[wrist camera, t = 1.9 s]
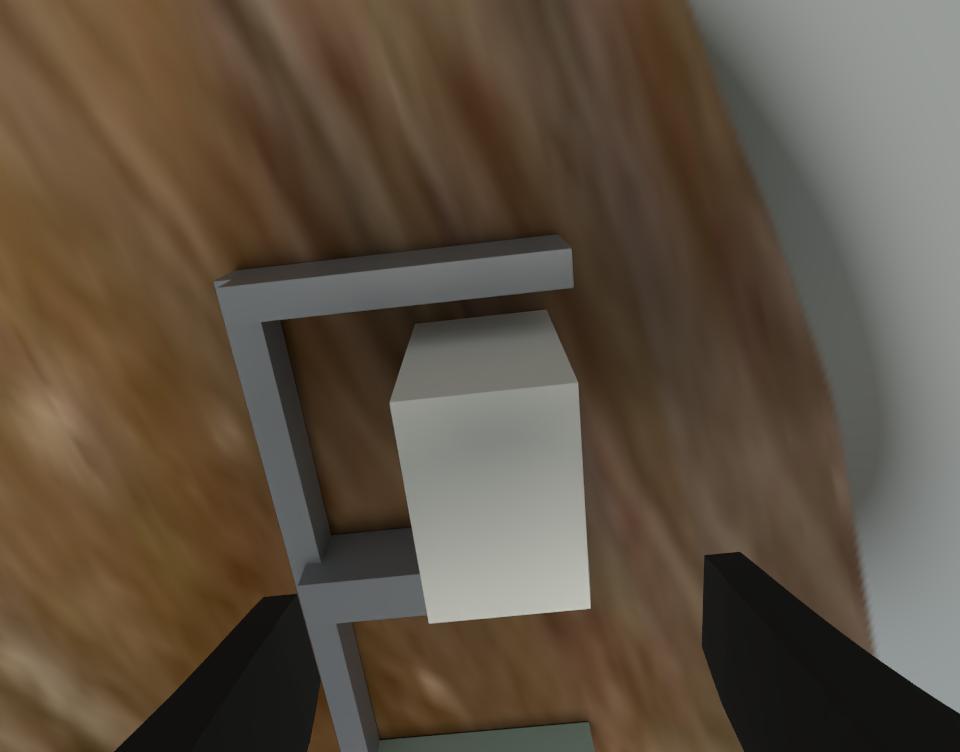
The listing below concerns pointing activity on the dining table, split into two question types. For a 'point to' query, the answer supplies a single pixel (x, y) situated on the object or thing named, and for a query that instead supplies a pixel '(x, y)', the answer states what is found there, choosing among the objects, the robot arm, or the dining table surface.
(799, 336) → the dining table surface
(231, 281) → the port cradle
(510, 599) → the plug block
